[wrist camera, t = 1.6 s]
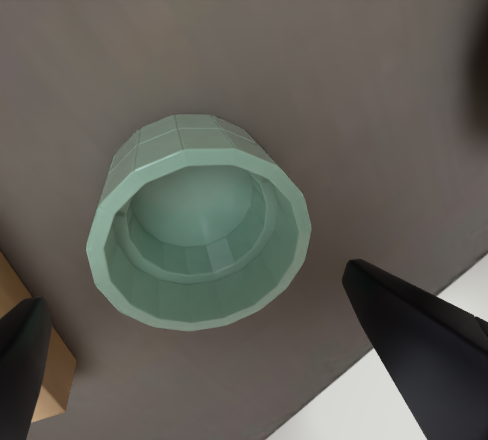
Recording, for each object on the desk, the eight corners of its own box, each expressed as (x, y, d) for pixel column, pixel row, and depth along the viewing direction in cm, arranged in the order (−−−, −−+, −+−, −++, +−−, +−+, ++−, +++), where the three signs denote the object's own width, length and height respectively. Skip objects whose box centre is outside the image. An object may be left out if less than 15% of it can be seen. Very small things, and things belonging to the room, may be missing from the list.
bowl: (120, 261, 15) (108, 345, 11) (93, 108, 12) (60, 150, 7) (259, 247, 17) (293, 315, 13) (275, 112, 13) (330, 147, 9)
